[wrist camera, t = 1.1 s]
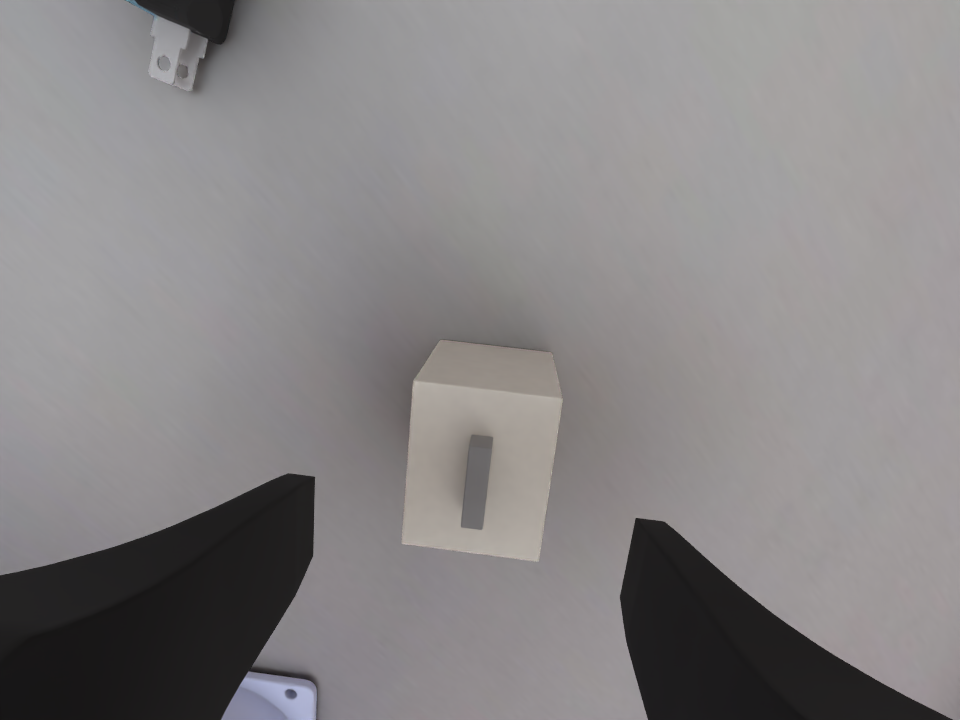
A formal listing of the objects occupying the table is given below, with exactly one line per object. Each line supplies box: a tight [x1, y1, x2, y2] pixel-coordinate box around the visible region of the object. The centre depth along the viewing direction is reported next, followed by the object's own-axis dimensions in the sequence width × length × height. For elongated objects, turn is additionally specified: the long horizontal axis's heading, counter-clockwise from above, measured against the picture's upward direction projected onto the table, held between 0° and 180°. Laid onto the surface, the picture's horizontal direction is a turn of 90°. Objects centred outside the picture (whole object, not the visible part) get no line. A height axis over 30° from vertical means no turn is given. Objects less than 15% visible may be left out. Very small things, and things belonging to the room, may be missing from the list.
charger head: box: [402, 340, 563, 562], centre depth 17 cm, size 4×5×6 cm
